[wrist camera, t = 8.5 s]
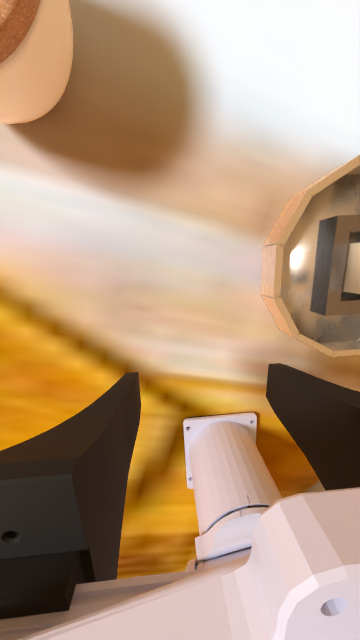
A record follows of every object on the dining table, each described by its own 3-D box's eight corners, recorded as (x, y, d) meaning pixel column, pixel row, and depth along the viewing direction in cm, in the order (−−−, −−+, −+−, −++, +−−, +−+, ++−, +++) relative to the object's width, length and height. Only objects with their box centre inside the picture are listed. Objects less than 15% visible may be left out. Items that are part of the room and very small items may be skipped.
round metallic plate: (405, 339, 23) (433, 348, 20) (257, 351, 22) (269, 362, 19) (445, 165, 18) (487, 151, 16) (265, 171, 18) (281, 156, 15)
